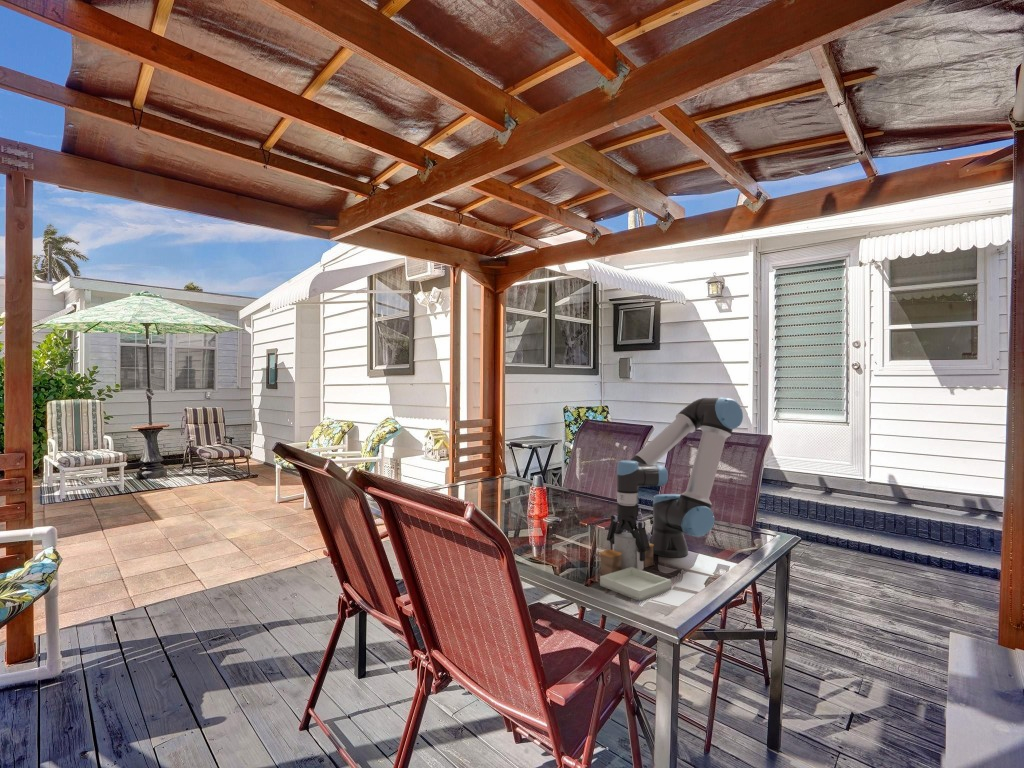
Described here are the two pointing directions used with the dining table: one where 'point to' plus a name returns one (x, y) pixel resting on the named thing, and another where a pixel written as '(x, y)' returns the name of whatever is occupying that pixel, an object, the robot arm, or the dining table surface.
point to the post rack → (613, 560)
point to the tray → (635, 583)
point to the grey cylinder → (626, 549)
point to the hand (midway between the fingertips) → (627, 565)
